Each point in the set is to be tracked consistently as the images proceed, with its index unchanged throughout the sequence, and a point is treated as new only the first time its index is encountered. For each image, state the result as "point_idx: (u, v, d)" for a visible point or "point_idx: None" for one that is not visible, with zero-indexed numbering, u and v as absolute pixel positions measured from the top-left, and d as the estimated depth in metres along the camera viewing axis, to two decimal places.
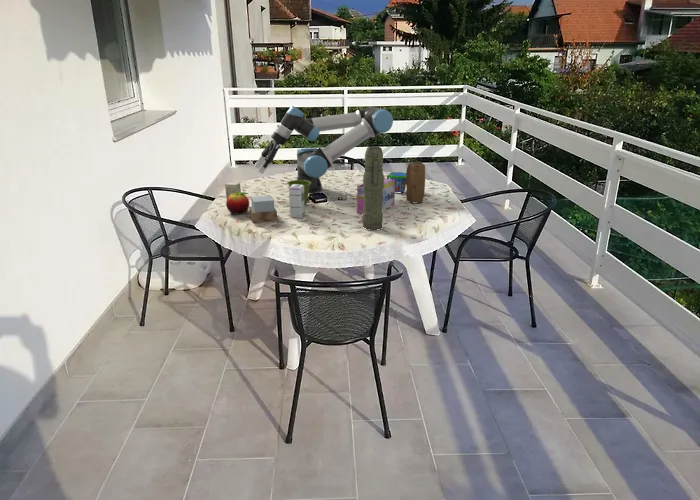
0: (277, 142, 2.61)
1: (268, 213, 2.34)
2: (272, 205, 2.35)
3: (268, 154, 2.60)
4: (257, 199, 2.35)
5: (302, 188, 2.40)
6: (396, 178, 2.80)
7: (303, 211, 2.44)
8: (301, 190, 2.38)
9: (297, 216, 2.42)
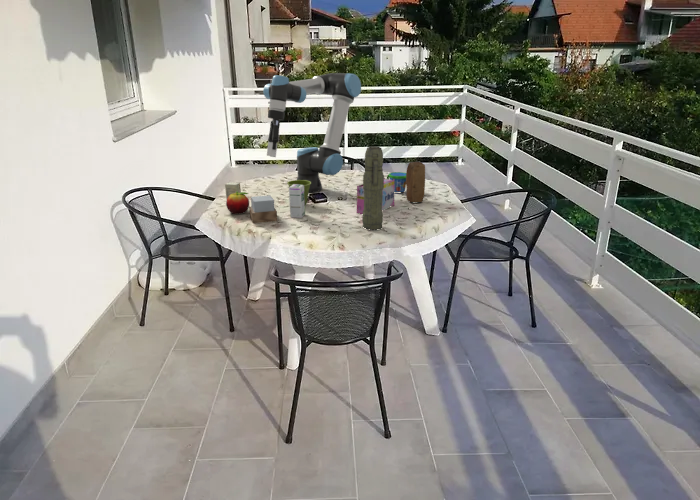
0: (275, 118, 2.39)
1: (268, 213, 2.34)
2: (272, 205, 2.35)
3: (272, 134, 2.39)
4: (257, 199, 2.35)
5: (302, 188, 2.40)
6: (396, 178, 2.80)
7: (303, 211, 2.44)
8: (301, 190, 2.38)
9: (297, 216, 2.42)
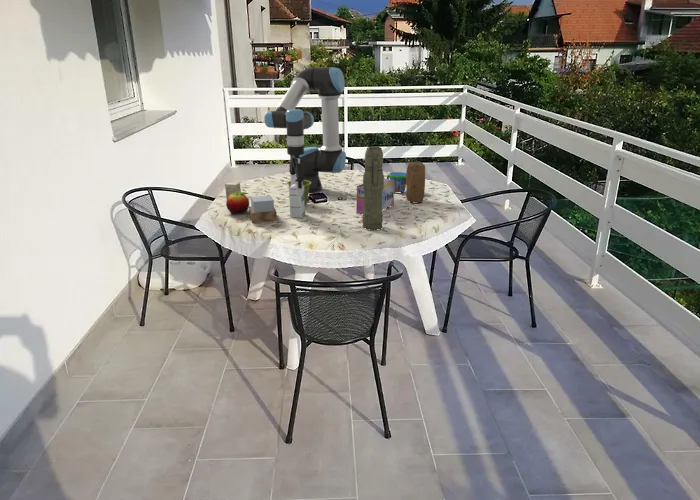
0: (296, 155, 2.31)
1: (268, 213, 2.34)
2: (272, 205, 2.35)
3: (295, 173, 2.32)
4: (257, 199, 2.35)
5: None
6: (396, 178, 2.80)
7: (303, 211, 2.44)
8: None
9: (297, 216, 2.42)
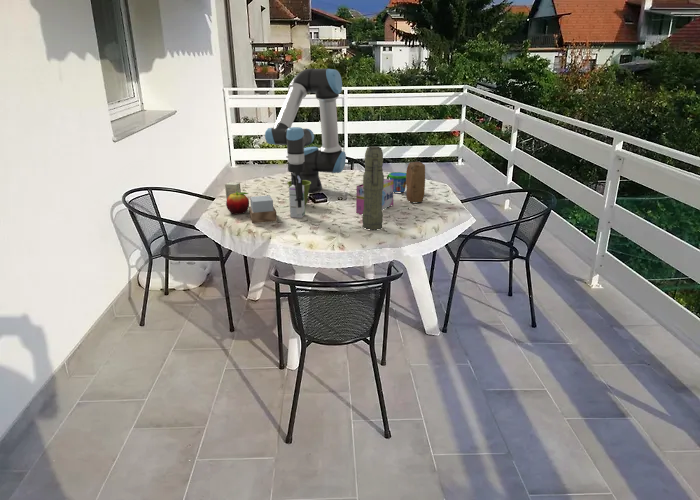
0: (297, 173, 2.34)
1: (267, 213, 2.34)
2: (271, 205, 2.34)
3: None
4: (256, 199, 2.35)
5: (302, 188, 2.40)
6: (396, 178, 2.80)
7: (303, 211, 2.44)
8: None
9: (297, 216, 2.42)
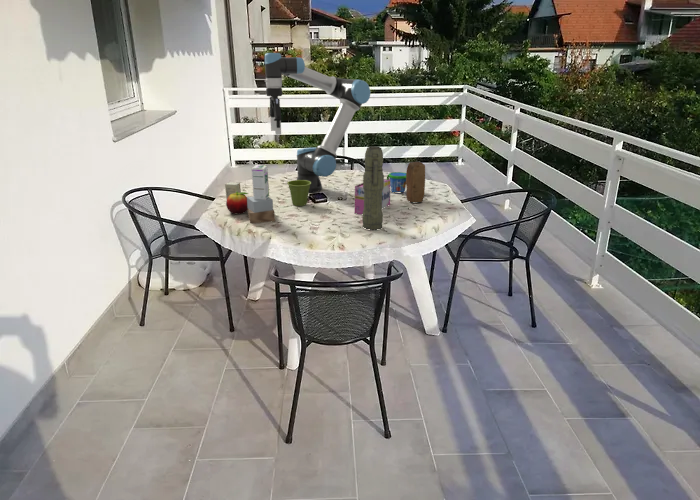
0: (275, 96, 2.47)
1: (266, 213, 2.34)
2: (271, 204, 2.36)
3: (274, 113, 2.48)
4: (255, 199, 2.35)
5: (265, 169, 2.31)
6: (396, 178, 2.80)
7: (267, 193, 2.36)
8: (264, 172, 2.30)
9: (261, 198, 2.34)
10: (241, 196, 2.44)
